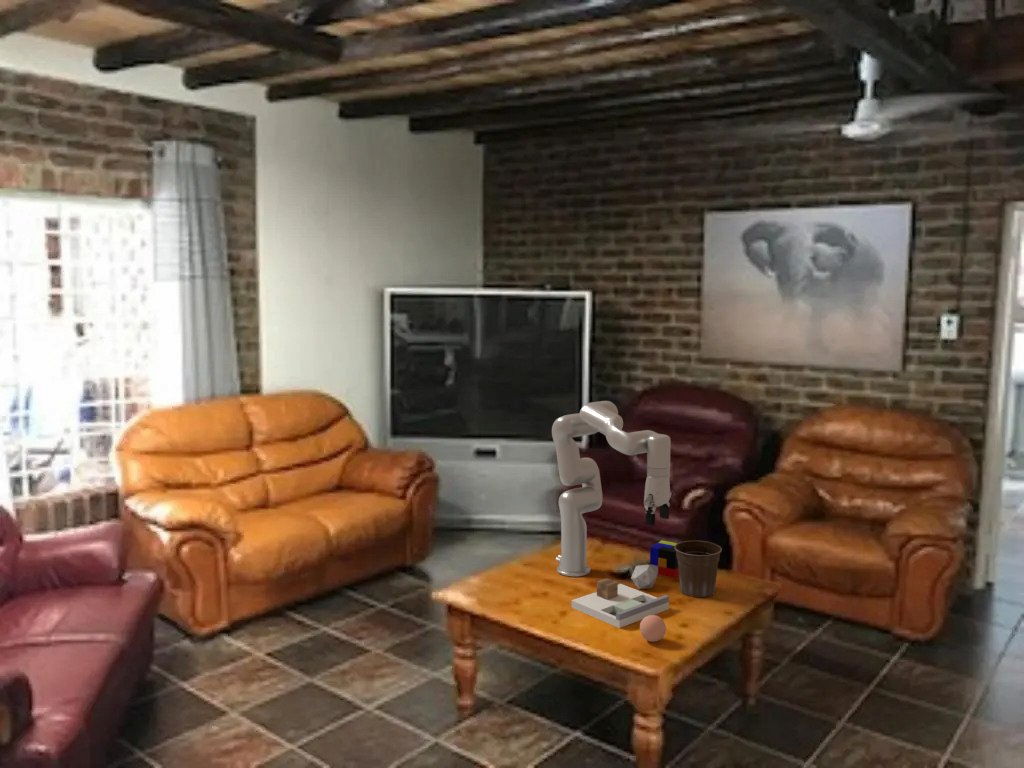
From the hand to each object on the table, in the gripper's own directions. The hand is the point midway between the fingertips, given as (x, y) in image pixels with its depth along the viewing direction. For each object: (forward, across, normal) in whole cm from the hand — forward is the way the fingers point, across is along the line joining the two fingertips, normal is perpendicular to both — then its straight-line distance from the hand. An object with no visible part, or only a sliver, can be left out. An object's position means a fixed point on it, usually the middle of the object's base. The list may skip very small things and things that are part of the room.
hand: (657, 521), depth 286 cm
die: (+30, -13, -11) cm, 34 cm away
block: (+27, +8, -14) cm, 31 cm away
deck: (+29, +10, -8) cm, 32 cm away
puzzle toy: (+30, -32, -12) cm, 46 cm away
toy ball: (+30, +26, +13) cm, 41 cm away
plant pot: (+30, -20, +6) cm, 36 cm away
